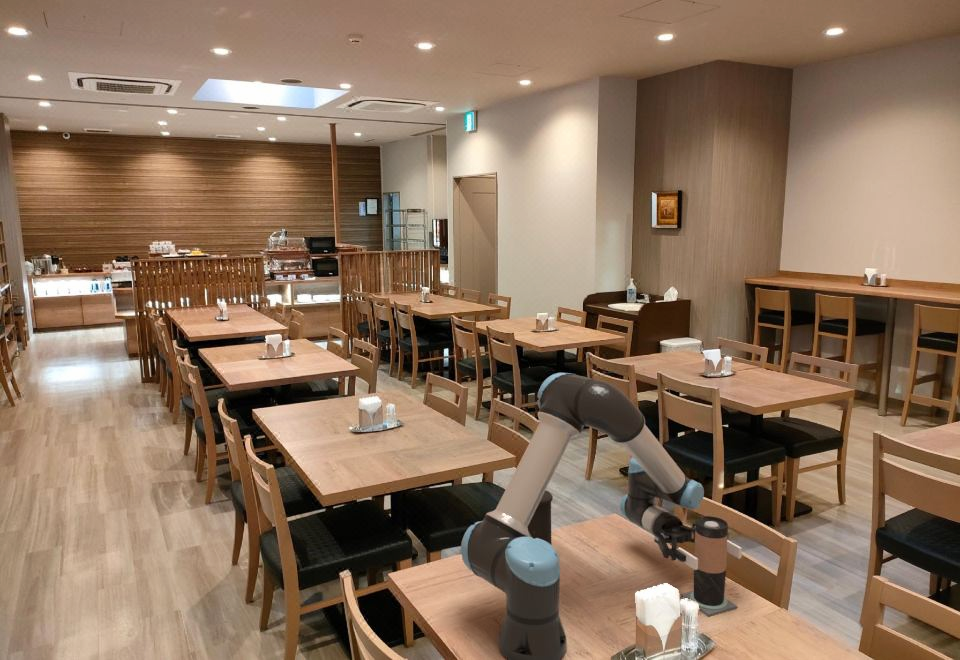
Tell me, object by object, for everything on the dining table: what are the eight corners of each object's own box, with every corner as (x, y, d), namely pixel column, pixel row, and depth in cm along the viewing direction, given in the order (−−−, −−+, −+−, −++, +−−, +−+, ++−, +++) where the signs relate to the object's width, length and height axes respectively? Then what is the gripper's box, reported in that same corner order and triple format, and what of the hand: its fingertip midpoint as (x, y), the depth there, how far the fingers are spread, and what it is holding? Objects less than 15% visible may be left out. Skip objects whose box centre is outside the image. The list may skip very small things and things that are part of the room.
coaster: (708, 616, 163) (708, 612, 163) (680, 596, 172) (680, 592, 172) (737, 608, 166) (737, 604, 166) (708, 588, 175) (708, 585, 175)
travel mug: (727, 608, 164) (730, 530, 162) (694, 605, 166) (697, 527, 163) (722, 591, 172) (725, 517, 169) (690, 589, 173) (693, 514, 170)
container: (515, 557, 193) (515, 490, 190) (542, 550, 197) (543, 484, 194) (530, 570, 186) (530, 500, 183) (558, 563, 189) (559, 495, 186)
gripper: (698, 529, 189) (757, 563, 170) (624, 546, 180) (677, 584, 160) (699, 503, 188) (758, 534, 169) (624, 519, 178) (678, 554, 159)
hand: (719, 558), depth 165 cm, fingers open, 13 cm apart
